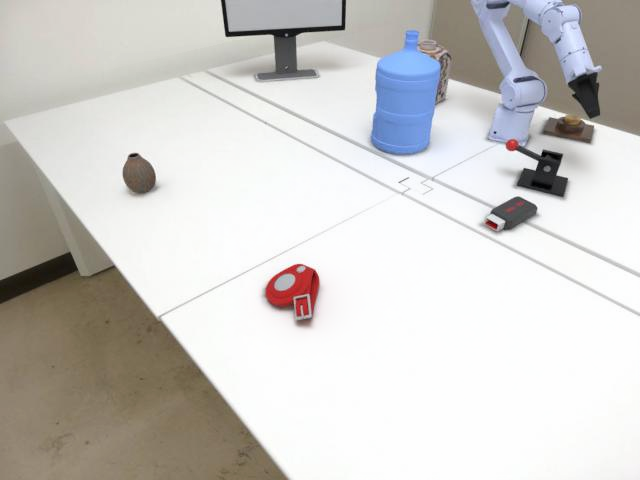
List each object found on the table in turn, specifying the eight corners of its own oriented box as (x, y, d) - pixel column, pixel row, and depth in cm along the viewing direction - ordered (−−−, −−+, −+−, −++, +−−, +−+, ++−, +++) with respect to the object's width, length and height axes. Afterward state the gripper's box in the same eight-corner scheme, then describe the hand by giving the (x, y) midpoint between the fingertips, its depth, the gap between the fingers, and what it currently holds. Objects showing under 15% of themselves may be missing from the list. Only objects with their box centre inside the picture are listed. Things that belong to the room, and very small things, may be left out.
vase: (164, 184, 107) (156, 150, 101) (146, 199, 102) (136, 164, 96) (139, 179, 109) (130, 145, 103) (121, 194, 104) (109, 159, 98)
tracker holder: (251, 291, 78) (289, 252, 82) (262, 307, 80) (298, 269, 85) (300, 316, 70) (339, 271, 74) (310, 333, 72) (347, 289, 77)
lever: (502, 149, 105) (508, 139, 103) (504, 144, 107) (510, 135, 105) (550, 173, 103) (557, 163, 101) (552, 168, 105) (559, 158, 103)
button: (562, 124, 126) (564, 118, 125) (564, 118, 129) (566, 113, 128) (578, 127, 124) (580, 121, 123) (579, 121, 127) (581, 115, 126)
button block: (542, 134, 127) (545, 123, 125) (547, 120, 134) (551, 111, 132) (589, 143, 123) (593, 133, 121) (592, 129, 129) (596, 119, 127)
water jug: (441, 146, 121) (461, 34, 104) (395, 161, 115) (408, 45, 98) (403, 125, 132) (415, 20, 114) (359, 138, 125) (365, 29, 108)
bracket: (516, 186, 106) (525, 158, 101) (522, 171, 111) (531, 143, 107) (562, 197, 102) (573, 169, 97) (566, 181, 107) (577, 153, 103)
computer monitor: (231, 83, 159) (214, -52, 134) (230, 75, 165) (213, -56, 140) (345, 75, 165) (349, -56, 140) (339, 67, 171) (343, -59, 146)
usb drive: (535, 214, 97) (539, 203, 95) (500, 235, 91) (504, 224, 90) (514, 203, 100) (518, 192, 99) (479, 222, 95) (482, 211, 93)
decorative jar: (395, 100, 146) (401, 41, 135) (414, 90, 153) (421, 33, 142) (427, 110, 140) (437, 49, 129) (446, 99, 147) (456, 40, 136)
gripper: (592, 36, 93) (614, 97, 91) (595, 58, 105) (615, 112, 103) (555, 53, 97) (576, 112, 95) (562, 72, 109) (581, 125, 107)
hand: (594, 113), depth 99 cm, fingers open, 7 cm apart
